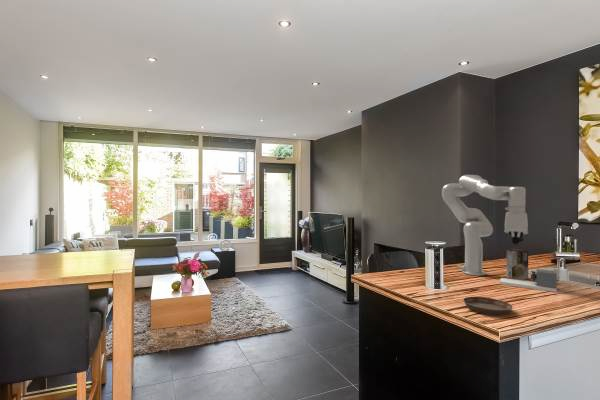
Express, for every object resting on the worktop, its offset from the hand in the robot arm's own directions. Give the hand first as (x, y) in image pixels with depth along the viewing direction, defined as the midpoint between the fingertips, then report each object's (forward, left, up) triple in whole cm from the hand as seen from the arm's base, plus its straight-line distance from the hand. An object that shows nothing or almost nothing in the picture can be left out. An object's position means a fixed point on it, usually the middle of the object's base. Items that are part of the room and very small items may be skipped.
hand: (515, 244), depth 176 cm
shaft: (+12, 0, -18) cm, 22 cm away
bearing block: (+13, 0, -20) cm, 24 cm away
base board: (+5, 0, -21) cm, 22 cm away
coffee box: (0, +19, -22) cm, 29 cm away
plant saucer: (-8, -54, -22) cm, 59 cm away
